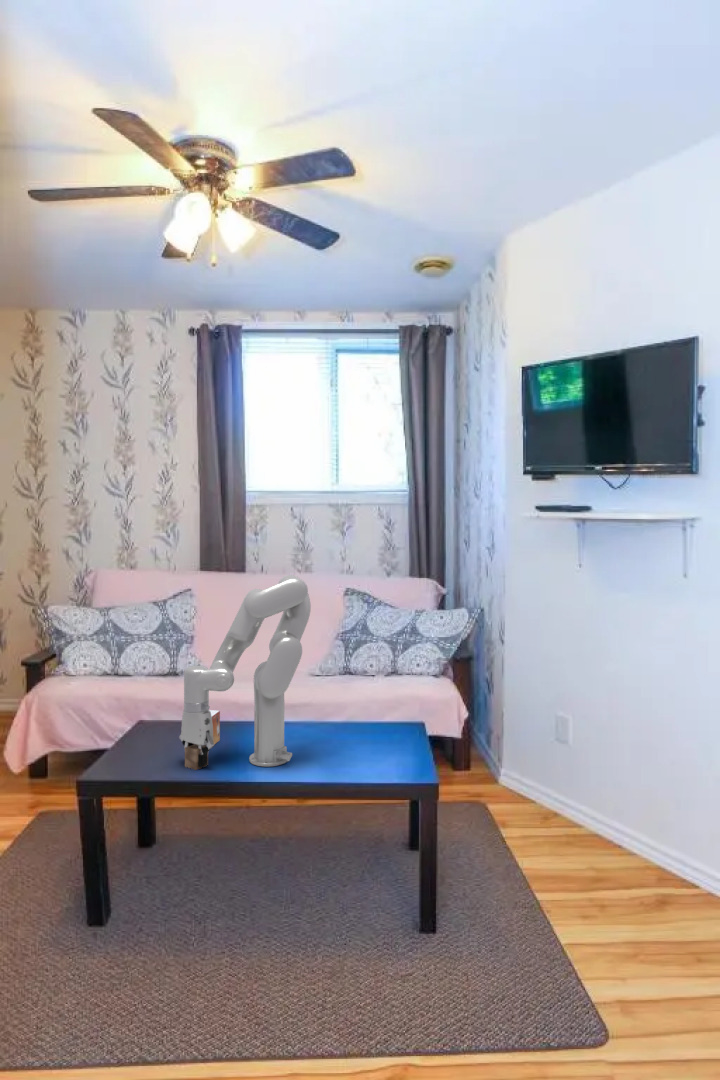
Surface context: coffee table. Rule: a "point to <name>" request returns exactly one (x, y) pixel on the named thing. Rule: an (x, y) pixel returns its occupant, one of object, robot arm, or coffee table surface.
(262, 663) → the robot arm
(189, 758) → the walnut block
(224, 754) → the coffee table surface
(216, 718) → the small box
